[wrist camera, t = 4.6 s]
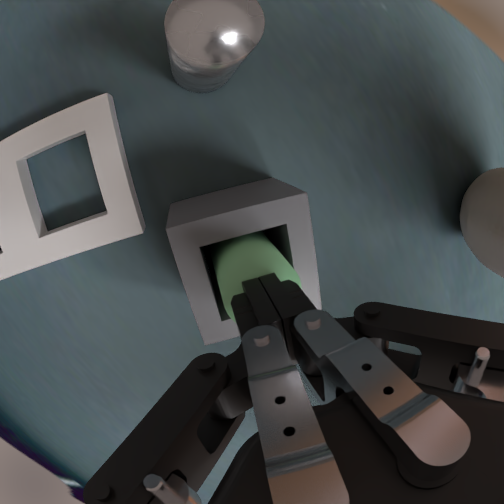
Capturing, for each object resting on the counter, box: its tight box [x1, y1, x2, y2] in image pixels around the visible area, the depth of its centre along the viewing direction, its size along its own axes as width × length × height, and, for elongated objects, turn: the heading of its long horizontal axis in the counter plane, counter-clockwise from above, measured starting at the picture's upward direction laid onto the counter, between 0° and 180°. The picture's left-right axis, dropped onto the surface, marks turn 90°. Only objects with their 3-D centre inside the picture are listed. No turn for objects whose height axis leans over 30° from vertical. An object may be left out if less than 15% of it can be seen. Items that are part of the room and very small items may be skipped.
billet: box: [164, 0, 265, 93], centre depth 13 cm, size 4×4×8 cm
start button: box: [211, 231, 302, 323], centre depth 16 cm, size 4×4×6 cm
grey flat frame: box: [0, 93, 146, 280], centre depth 16 cm, size 18×9×2 cm, turn 101°
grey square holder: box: [166, 178, 322, 345], centre depth 19 cm, size 7×7×6 cm
